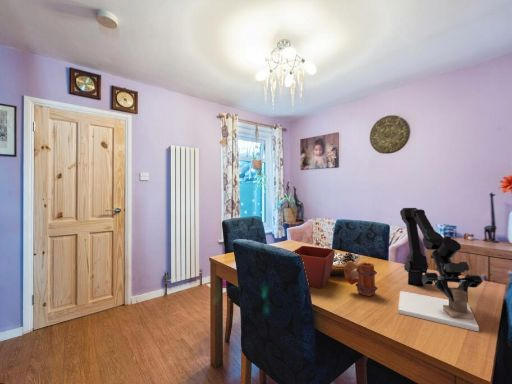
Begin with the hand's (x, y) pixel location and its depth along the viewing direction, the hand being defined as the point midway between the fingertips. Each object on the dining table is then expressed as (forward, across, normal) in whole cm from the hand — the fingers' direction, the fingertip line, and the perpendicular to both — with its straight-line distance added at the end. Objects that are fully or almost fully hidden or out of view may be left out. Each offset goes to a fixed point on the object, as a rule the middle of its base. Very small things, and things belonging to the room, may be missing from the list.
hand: (459, 302), depth 90 cm
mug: (-8, -31, +18) cm, 37 cm away
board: (0, -6, +10) cm, 11 cm away
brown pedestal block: (+3, 0, +5) cm, 6 cm away
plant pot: (-15, -53, +25) cm, 60 cm away
